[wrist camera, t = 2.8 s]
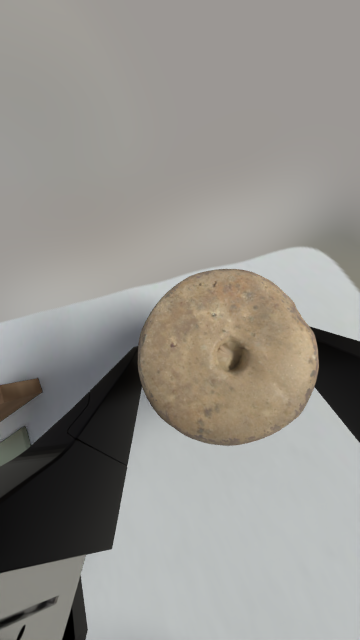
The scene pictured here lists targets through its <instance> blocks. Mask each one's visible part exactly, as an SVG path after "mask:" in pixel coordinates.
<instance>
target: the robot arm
mask: <svg viewBox="0 0 360 640" xmlns="http://www.w3.org/2000/svg"><path fill="white" fill-rule="evenodd" d="M310 328H311V330H312V331H313V333H314V335H315V338H316V342H317V348H318V360H319V370H318V375H317V380H316V383H315V386H314V387H315V388H316V389H317V391H318V392H319V393H320V394H321V396H322V397H323V398H324V399H325V400H326V402H327V403H328V404H329V405H330V407H331V408H332V409H333V410H334V412H335V413H336V414H337V415H338V417H339V418H340V419H341V420H342V421H343V423H344V424H345V425H346V426H347V428H348V429H349V430H350V431H351V433H352V434H353V435H354V436H355V438H356V439H357V440H358V441H359V442H360V341H357V340H353V339H350V338H346V337H343V336H340V335H336V334H333V333H330V332H326V331H323V330H320V329H316V328H313V327H310ZM141 389H142V384H141V381H140V377H139V372H138V346H137V347H133V348H132V349H131V350H130V351H129V352H128V353H127V354H126V355H125V356H124V357H123V358H122V359H121V360H120V361H119V362H118V363H117V364H116V365H115V366H114V367H113V368H112V369H111V370H110V371H109V372H108V373H107V374H106V375H105V376H104V377H103V378H102V379H101V380H100V381H99V382H98V383H97V384H96V385H95V386H94V387H93V388H92V389H91V390H90V392H88V393H87V394H86V395H85V396H84V397H83V398H82V399H81V400H80V401H79V402H78V403H77V404H76V405H75V406H74V407H73V408H72V409H71V410H70V411H69V412H68V413H67V414H66V415H64V416H63V417H62V418H61V419H60V420H59V421H58V422H57V423H56V424H55V425H53V426H52V427H51V428H50V429H49V430H48V431H47V432H46V433H45V434H44V435H42V436H41V437H40V438H39V439H38V440H37V441H36V442H35V443H34V444H32V445H31V446H30V447H29V448H28V449H26V450H25V451H24V452H23V453H21V454H20V455H18V456H17V457H15V458H14V459H12V460H11V461H9V462H7V463H5V464H4V465H2V466H0V640H85V639H86V635H87V630H88V629H87V621H86V613H85V606H84V598H83V590H82V583H81V571H82V568H83V564H84V561H85V557H86V555H87V554H91V553H96V552H101V551H105V550H110V549H112V546H113V541H114V536H115V531H116V525H117V520H118V514H119V509H120V503H121V498H122V492H123V487H124V482H125V476H126V471H127V465H128V459H129V454H130V448H131V443H132V438H133V432H134V427H135V421H136V416H137V410H138V405H139V399H140V394H141Z"/></svg>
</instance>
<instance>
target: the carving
mask: <svg viewBox="0 0 360 640" xmlns="http://www.w3.org/2000/svg"><path fill="white" fill-rule="evenodd" d="M318 370H319V360H318V348H317V342H316V338H315V335H314V333H313V331H312V330H311V328H310V327H309V326H308V324H307V323H306V322H305V321H304V319H303V318H302V317H301V315H300V313H299V312H298V310H297V309H296V306H295V304H294V302H293V301H292V300H291V299H290V297H289V296H287V295H286V294H285V293H284V292H283V291H282V290H281V289H280V288H279V287H278V286H277V285H275V284H274V283H273V282H271V281H269V280H268V279H266V278H264V277H262V276H260V275H258V274H256V273H253V272H250V271H245V270H239V269H219V270H212V271H206V272H201V273H198V274H195V275H192V276H190V277H188V278H186V279H185V280H183V281H181V282H180V283H178V284H177V285H176V286H174V287H173V288H172V289H171V290H169V291H168V292H167V293H166V294H165V295H164V296H163V297H162V298H161V300H160V301H159V302H158V303H157V305H156V306H155V307H154V309H153V310H152V312H151V313H150V315H149V317H148V318H147V320H146V322H145V324H144V326H143V328H142V331H141V334H140V338H139V344H138V372H139V377H140V381H141V384H142V387H143V390H144V392H145V395H146V397H147V399H148V400H149V402H150V404H151V406H152V407H153V409H154V410H155V411H156V413H157V414H158V415H159V416H160V417H161V418H162V419H163V420H164V421H165V422H167V423H168V424H169V425H171V426H172V427H174V428H175V429H176V430H178V431H179V432H181V433H182V434H184V435H186V436H188V437H190V438H192V439H195V440H198V441H201V442H204V443H208V444H215V445H226V446H230V445H240V444H245V443H249V442H253V441H256V440H259V439H262V438H265V437H267V436H270V435H272V434H274V433H276V432H277V431H279V430H281V429H282V428H283V427H285V426H287V425H288V424H289V423H291V422H292V421H293V420H294V419H296V418H297V417H298V416H299V415H300V414H301V412H302V411H303V409H304V408H305V406H306V404H307V402H308V400H309V398H310V396H311V393H312V391H313V389H314V386H315V383H316V380H317V375H318Z"/></svg>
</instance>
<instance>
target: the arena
mask: <svg viewBox="0 0 360 640" xmlns="http://www.w3.org/2000/svg"><path fill="white" fill-rule="evenodd" d="M40 393H42V389H41V386H40V383H39V380H38V378H37V379H31V380H26V381H21V382H15V383H10V384H5V385H0V422H1V421H2V420H3V419H5V418H6V417H8V416H9V415H10V414H12V413H13V412H15V411H16V410H18V409H19V408H20V407H22V406H23V405H25V404H26V403H27V402H29V401H30V400H32V399H33V398H34V397H36V396H37V395H39V394H40ZM30 446H31V445H30V442H29V438H28V434H27V430H26V427H23V428H21V429H20V430H18V431H17V432H15V433H14V434H12V435H11V436H10V437H8V438H7V439H5V440H4V441H3V442H1V443H0V466H2V465H4V464H5V463H7V462H9V461H11V460H12V459H14V458H15V457H17V456H18V455H20V454H21V453H23V452H24V451H25V450H26V449H28V448H29V447H30Z"/></svg>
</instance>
